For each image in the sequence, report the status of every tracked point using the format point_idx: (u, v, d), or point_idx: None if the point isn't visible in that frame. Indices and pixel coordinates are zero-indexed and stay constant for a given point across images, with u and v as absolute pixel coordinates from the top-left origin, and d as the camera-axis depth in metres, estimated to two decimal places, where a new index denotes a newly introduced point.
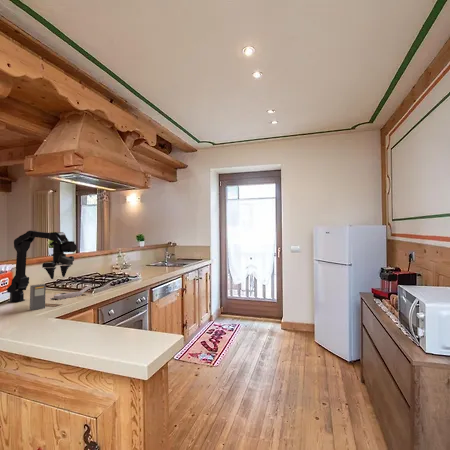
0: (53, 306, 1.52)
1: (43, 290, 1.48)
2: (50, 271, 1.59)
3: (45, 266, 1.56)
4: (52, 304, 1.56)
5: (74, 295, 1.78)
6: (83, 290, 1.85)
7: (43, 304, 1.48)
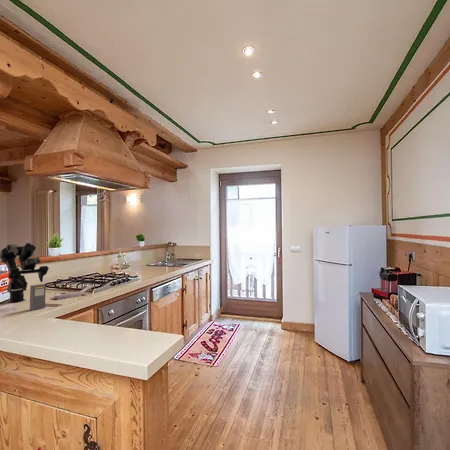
0: (53, 306, 1.52)
1: (43, 290, 1.48)
2: (18, 278, 1.51)
3: (9, 274, 1.50)
4: (52, 304, 1.56)
5: (74, 295, 1.78)
6: (83, 290, 1.85)
7: (43, 304, 1.48)
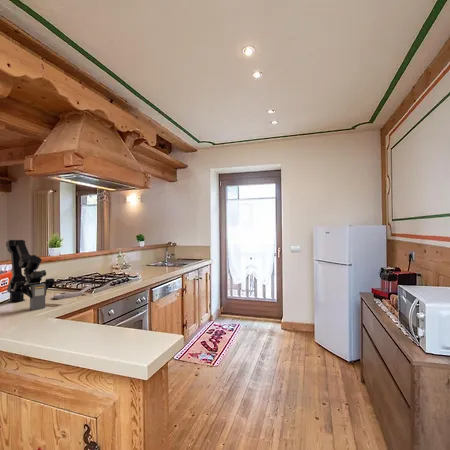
0: (53, 306, 1.52)
1: (43, 290, 1.48)
2: (27, 291, 1.46)
3: (14, 288, 1.44)
4: (52, 304, 1.56)
5: (74, 295, 1.78)
6: (83, 290, 1.86)
7: (43, 304, 1.48)
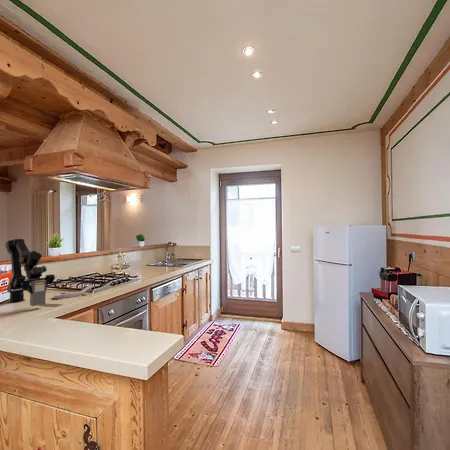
0: (53, 306, 1.52)
1: (43, 286, 1.49)
2: (27, 287, 1.46)
3: (14, 284, 1.44)
4: (52, 304, 1.56)
5: (74, 295, 1.78)
6: (84, 290, 1.85)
7: (43, 300, 1.49)
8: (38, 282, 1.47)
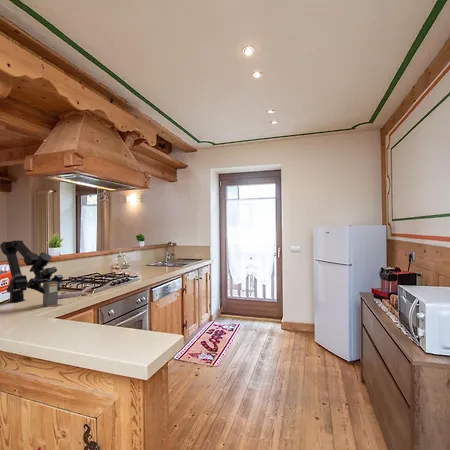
0: (53, 306, 1.52)
1: (56, 287, 1.57)
2: (38, 287, 1.52)
3: (28, 284, 1.49)
4: None
5: (74, 295, 1.79)
6: (84, 290, 1.86)
7: (56, 300, 1.57)
8: (52, 283, 1.55)
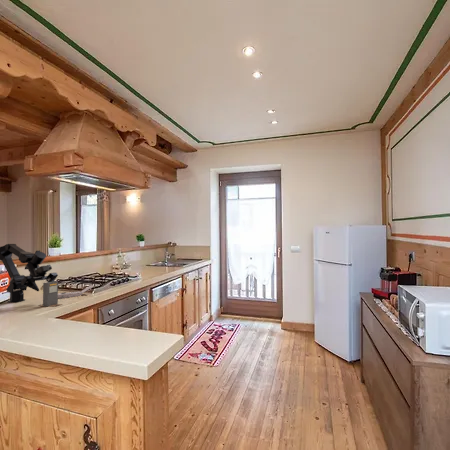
0: (53, 306, 1.52)
1: (56, 287, 1.57)
2: (32, 285, 1.53)
3: (23, 282, 1.51)
4: None
5: (74, 295, 1.79)
6: (84, 290, 1.86)
7: (56, 300, 1.57)
8: (52, 283, 1.55)
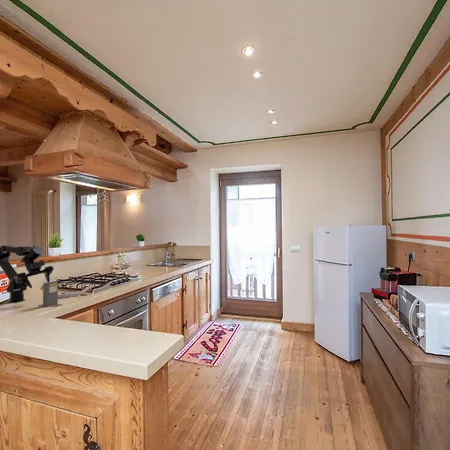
0: (53, 306, 1.52)
1: (56, 287, 1.57)
2: (26, 282, 1.57)
3: (16, 279, 1.55)
4: None
5: (74, 295, 1.79)
6: (84, 290, 1.86)
7: (56, 300, 1.57)
8: (52, 283, 1.55)
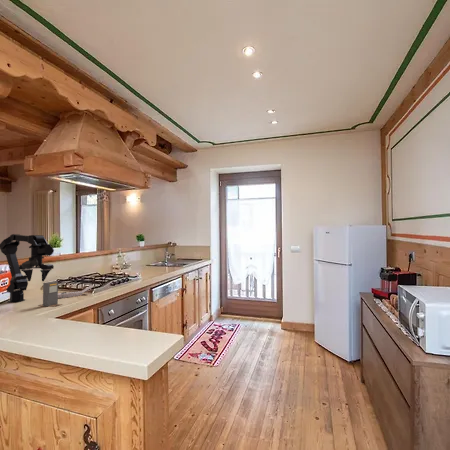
0: (53, 306, 1.52)
1: (56, 287, 1.57)
2: None
3: None
4: None
5: (74, 295, 1.79)
6: (84, 290, 1.86)
7: (56, 300, 1.57)
8: (52, 283, 1.55)
